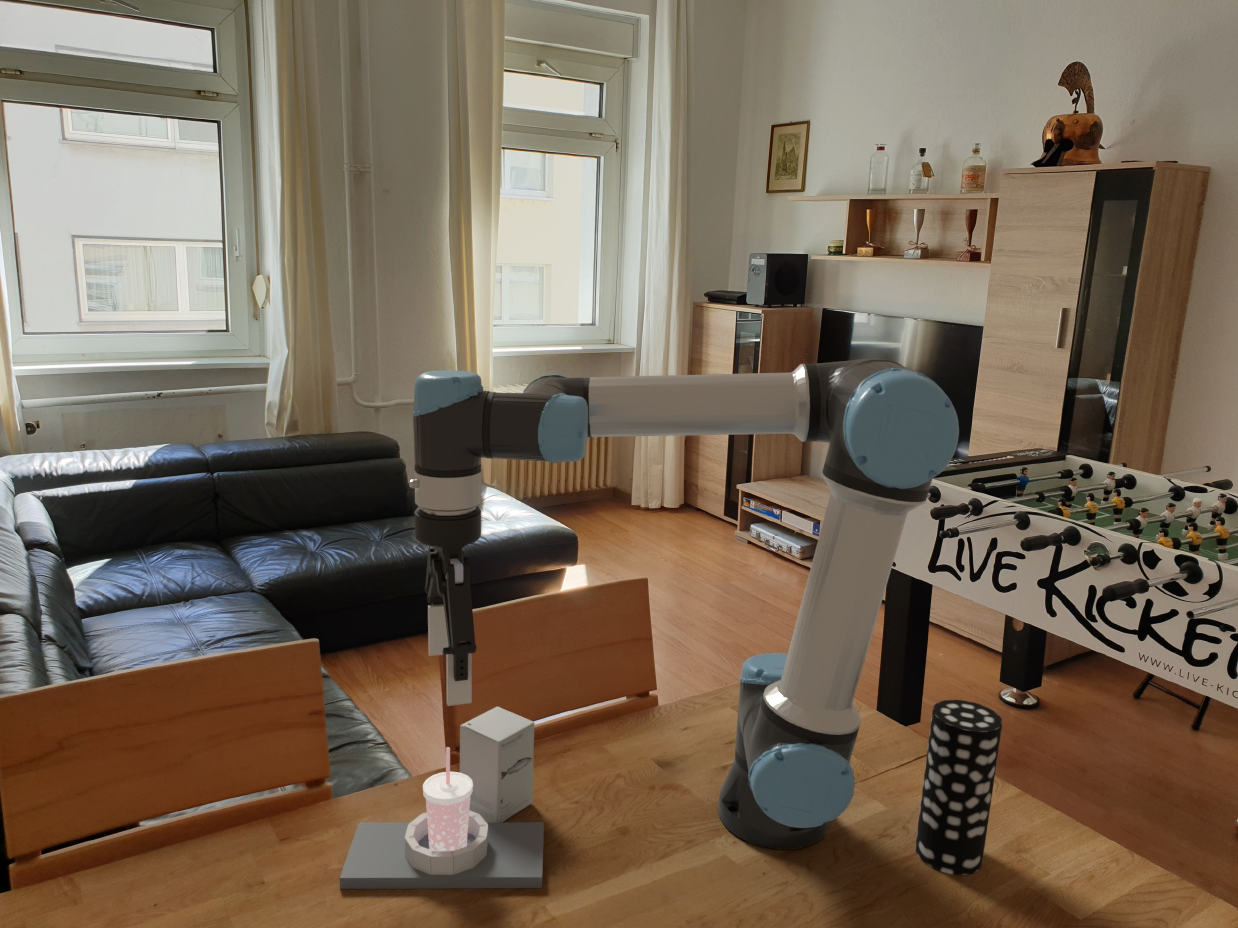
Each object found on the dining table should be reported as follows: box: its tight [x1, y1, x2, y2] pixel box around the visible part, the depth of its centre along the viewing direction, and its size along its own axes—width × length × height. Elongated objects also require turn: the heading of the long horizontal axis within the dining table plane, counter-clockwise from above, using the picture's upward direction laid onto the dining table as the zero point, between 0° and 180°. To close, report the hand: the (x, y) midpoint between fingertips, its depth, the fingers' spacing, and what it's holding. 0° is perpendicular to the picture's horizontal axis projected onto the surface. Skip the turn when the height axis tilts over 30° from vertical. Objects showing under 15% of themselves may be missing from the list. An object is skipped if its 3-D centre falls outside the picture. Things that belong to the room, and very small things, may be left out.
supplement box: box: [459, 706, 535, 822], centre depth 129 cm, size 7×7×13 cm
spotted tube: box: [914, 699, 1004, 876], centre depth 121 cm, size 8×8×20 cm
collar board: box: [339, 810, 545, 890], centre depth 118 cm, size 24×11×4 cm, turn 93°
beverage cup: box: [422, 746, 473, 851], centre depth 116 cm, size 6×6×14 cm
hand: (448, 677), depth 113 cm, fingers open, 13 cm apart
